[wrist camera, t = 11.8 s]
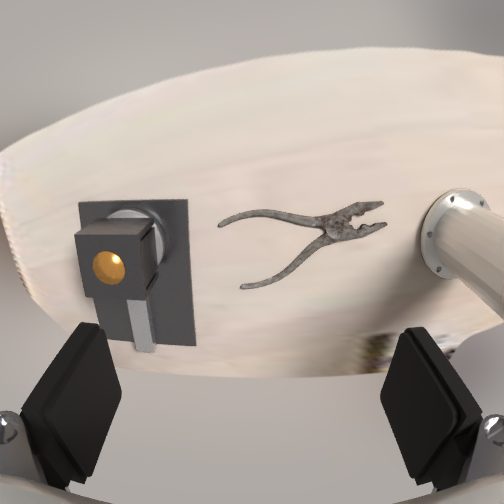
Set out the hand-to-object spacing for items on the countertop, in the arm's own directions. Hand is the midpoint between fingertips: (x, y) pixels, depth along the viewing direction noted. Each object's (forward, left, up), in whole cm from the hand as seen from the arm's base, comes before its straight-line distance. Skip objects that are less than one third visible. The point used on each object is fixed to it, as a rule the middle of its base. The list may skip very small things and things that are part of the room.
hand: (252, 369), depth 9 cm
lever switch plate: (+14, +11, -28) cm, 33 cm away
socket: (+14, +6, -26) cm, 30 cm away
